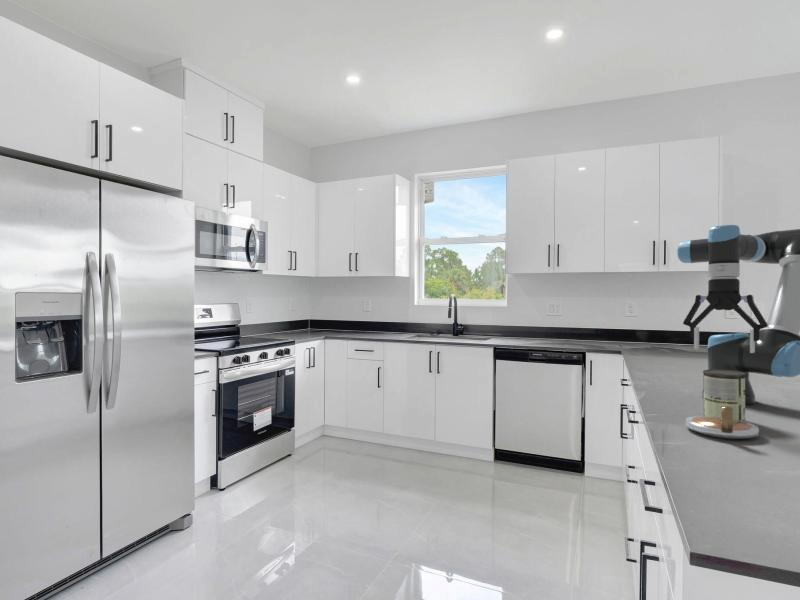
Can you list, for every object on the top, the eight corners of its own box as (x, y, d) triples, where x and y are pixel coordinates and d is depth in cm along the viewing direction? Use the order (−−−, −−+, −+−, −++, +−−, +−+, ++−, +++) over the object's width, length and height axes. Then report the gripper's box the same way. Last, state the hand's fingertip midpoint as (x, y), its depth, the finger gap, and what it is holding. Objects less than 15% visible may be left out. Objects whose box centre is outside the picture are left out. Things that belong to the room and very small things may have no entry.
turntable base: (700, 423, 132) (700, 421, 132) (752, 432, 123) (752, 429, 123) (689, 433, 123) (689, 430, 123) (744, 442, 115) (744, 439, 115)
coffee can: (698, 414, 142) (698, 368, 142) (738, 416, 139) (738, 370, 139) (708, 422, 133) (708, 373, 133) (751, 425, 129) (751, 375, 129)
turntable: (682, 418, 134) (682, 392, 134) (750, 424, 127) (750, 397, 127) (690, 434, 118) (690, 405, 118) (767, 442, 112) (767, 411, 112)
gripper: (672, 279, 142) (672, 348, 142) (776, 276, 124) (776, 355, 124) (678, 279, 147) (678, 346, 147) (779, 277, 129) (779, 353, 130)
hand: (723, 350), depth 136 cm, fingers open, 13 cm apart
